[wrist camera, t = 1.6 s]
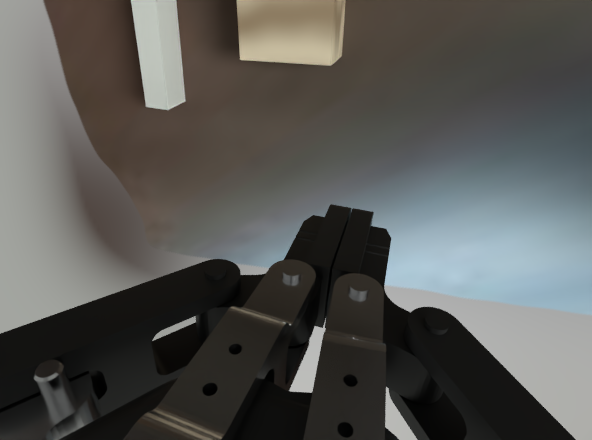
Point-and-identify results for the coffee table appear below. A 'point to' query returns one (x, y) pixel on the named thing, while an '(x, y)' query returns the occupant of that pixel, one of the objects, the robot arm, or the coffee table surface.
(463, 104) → the coffee table surface
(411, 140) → the coffee table surface
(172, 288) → the robot arm
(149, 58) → the board
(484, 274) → the coffee table surface
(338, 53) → the maple block
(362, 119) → the coffee table surface
